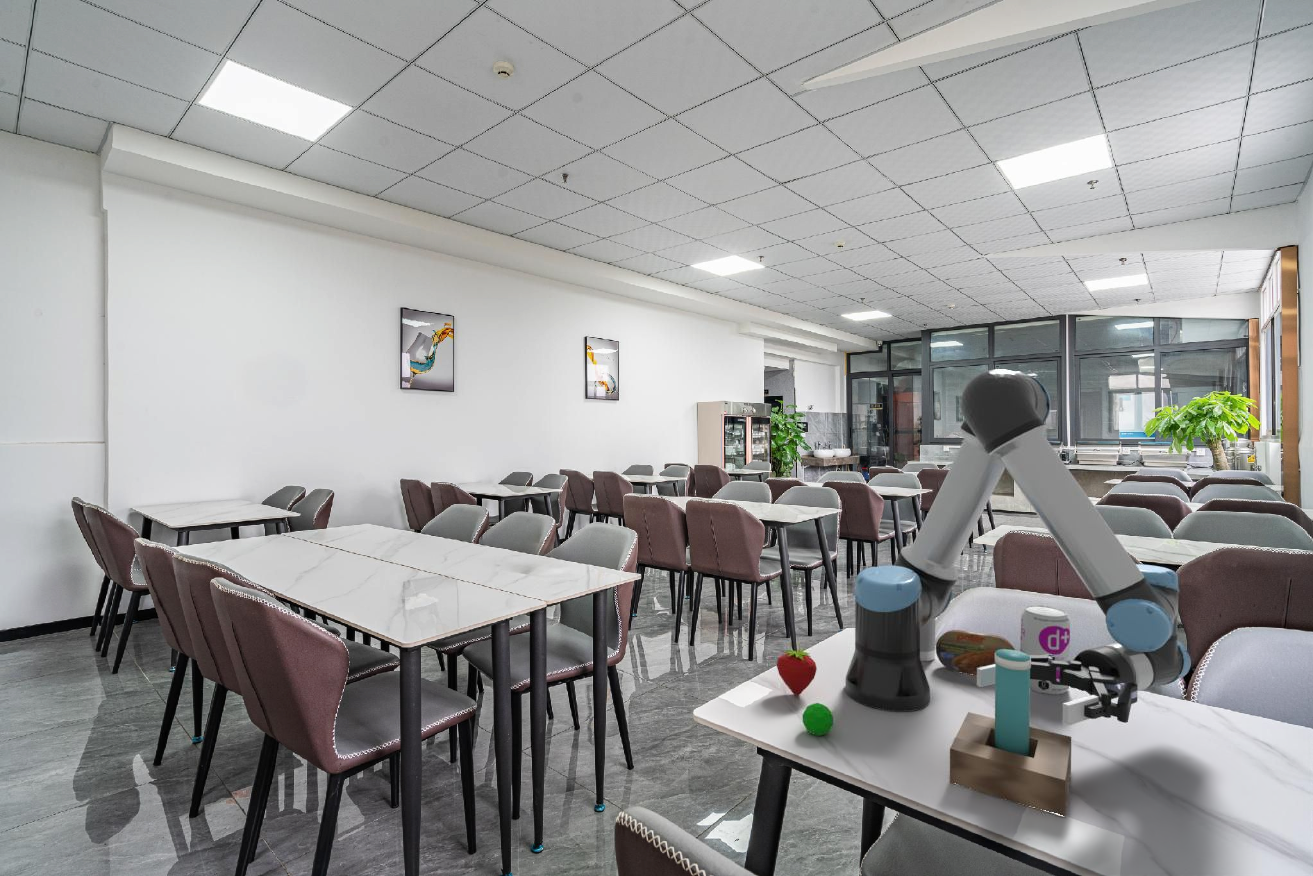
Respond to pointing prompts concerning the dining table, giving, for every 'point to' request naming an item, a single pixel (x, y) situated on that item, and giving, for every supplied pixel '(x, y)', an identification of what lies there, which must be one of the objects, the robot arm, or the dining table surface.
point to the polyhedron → (817, 719)
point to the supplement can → (1046, 640)
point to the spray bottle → (927, 641)
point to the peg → (1012, 701)
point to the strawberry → (796, 670)
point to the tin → (969, 650)
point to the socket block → (1012, 765)
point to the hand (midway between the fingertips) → (1019, 694)
